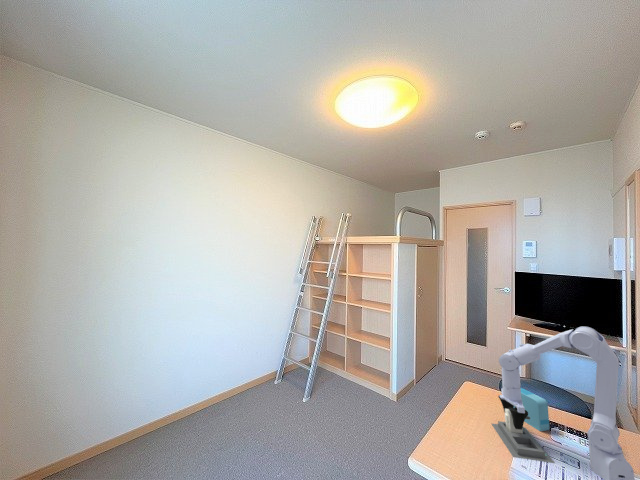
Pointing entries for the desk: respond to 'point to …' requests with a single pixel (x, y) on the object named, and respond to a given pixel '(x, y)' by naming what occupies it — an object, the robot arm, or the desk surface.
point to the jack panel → (521, 444)
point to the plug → (511, 422)
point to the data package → (535, 410)
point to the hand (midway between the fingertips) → (513, 422)
